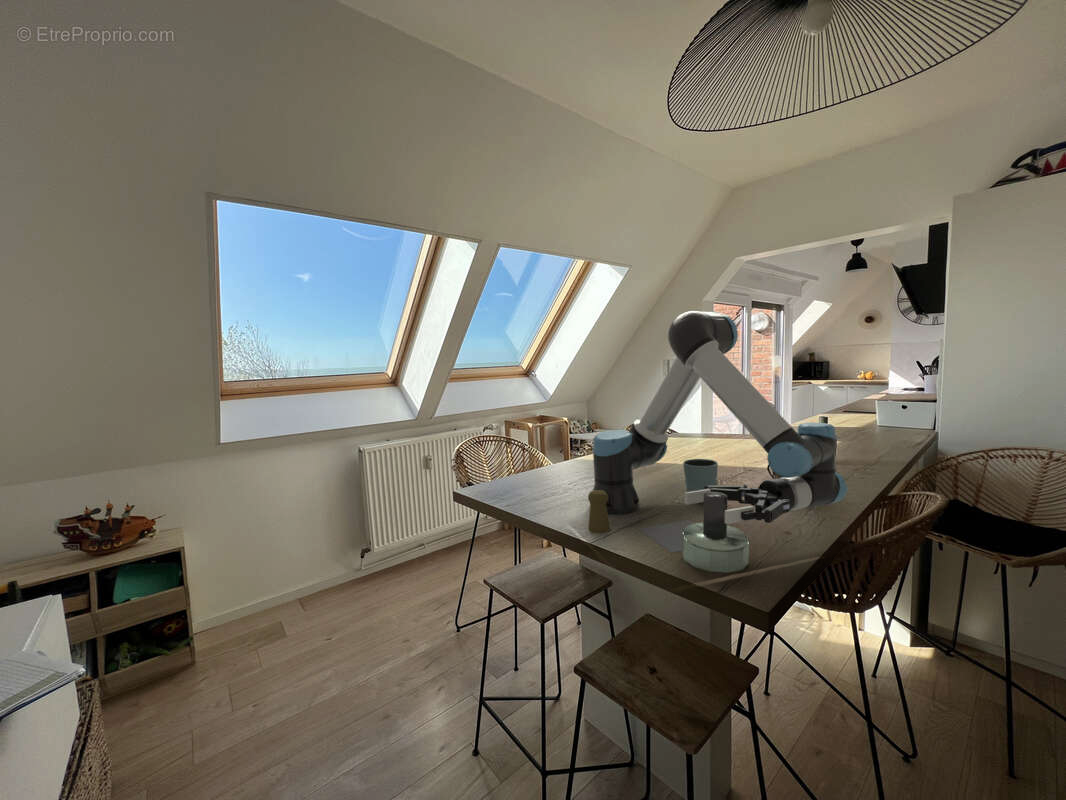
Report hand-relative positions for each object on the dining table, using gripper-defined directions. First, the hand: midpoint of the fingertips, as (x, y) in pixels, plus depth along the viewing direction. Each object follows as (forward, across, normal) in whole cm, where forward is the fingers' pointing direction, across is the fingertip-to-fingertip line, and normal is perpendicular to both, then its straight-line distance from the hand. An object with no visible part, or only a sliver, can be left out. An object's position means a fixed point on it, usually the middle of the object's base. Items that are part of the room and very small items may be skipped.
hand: (704, 507), depth 98 cm
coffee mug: (-53, +31, -13) cm, 63 cm away
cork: (+14, +26, -13) cm, 32 cm away
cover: (-2, 0, -12) cm, 13 cm away
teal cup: (-26, +37, -13) cm, 47 cm away
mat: (-3, +14, -13) cm, 19 cm away
